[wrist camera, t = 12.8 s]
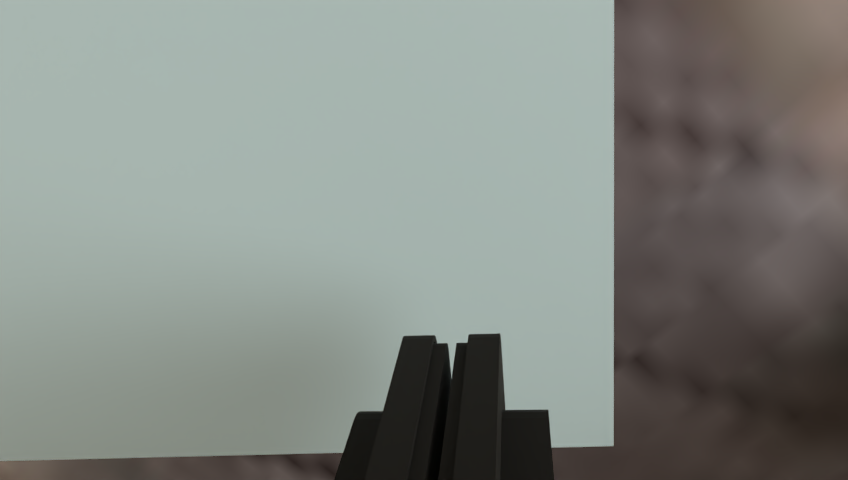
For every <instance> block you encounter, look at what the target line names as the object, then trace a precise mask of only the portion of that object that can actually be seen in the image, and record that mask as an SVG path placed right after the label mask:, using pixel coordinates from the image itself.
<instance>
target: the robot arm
mask: <svg viewBox="0 0 848 480" xmlns="http://www.w3.org/2000/svg"><path fill="white" fill-rule="evenodd" d="M335 480H554V475H553V462H552V449H551V436H550V423H549V411H548V410H505V395H504V379H503V363H502V347H501V335H500V333H497V334H469V335H468V343H456V350H455V357H454V365H453V372H452V378H451V368H450V358H449V348H448V344H447V343H437V340H436V336H435V335H418V336H403V338H402V342H401V346H400V349H399V353H398V357H397V360H396V364H395V368H394V372H393V375H392V379H391V383H390V387H389V390H388V394H387V398H386V402H385V405H384V409H383V411H359V412H358V413H357V414H356V416H355V418H354V421H353V424H352V427H351V430H350V433H349V436H348V439H347V442H346V445H345V449H344V452H343V455H342V458H341V461H340V464H339V467H338V470H337V473H336V476H335Z"/></svg>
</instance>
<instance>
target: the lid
mask: <svg viewBox="0 0 848 480" xmlns="http://www.w3.org/2000/svg"><path fill="white" fill-rule="evenodd" d="M497 333H500V335H501V347H502V363H503V379H504V395H505V410H548V411H549V423H550V436H551V448H553V447H594V446H614V0H0V461H27V460H68V459H108V458H149V457H189V456H230V455H270V454H311V453H343V452H344V449H345V445H346V442H347V439H348V436H349V433H350V430H351V427H352V424H353V421H354V418H355V416H356V414H357V413H358V412H359V411H383V409H384V405H385V402H386V398H387V394H388V390H389V387H390V383H391V379H392V375H393V372H394V368H395V364H396V360H397V357H398V353H399V349H400V346H401V342H402V338H403V336H418V335H435V336H436V340H437V343H447V344H448V348H449V358H450V368H451V378H452V372H453V365H454V357H455V350H456V343H468V335H469V334H497Z"/></svg>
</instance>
